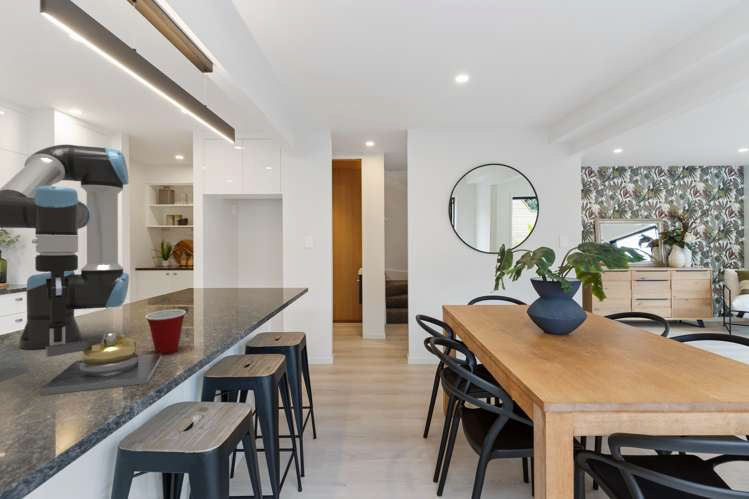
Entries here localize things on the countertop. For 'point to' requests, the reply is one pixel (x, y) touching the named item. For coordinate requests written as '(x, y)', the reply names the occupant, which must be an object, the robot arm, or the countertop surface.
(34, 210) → the robot arm
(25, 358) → the countertop surface
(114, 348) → the brass dial with lever
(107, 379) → the flange plate
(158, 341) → the plastic cup
